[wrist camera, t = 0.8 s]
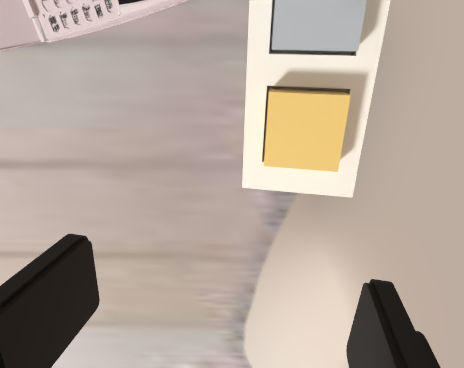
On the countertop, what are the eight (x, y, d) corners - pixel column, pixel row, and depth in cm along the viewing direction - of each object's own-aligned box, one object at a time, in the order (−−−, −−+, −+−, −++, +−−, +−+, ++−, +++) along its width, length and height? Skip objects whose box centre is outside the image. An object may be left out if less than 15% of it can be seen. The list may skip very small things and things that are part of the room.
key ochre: (270, 89, 25) (268, 92, 23) (344, 91, 25) (350, 95, 22) (265, 157, 28) (263, 166, 26) (333, 162, 27) (337, 172, 25)
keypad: (264, -251, 20) (261, -300, 17) (430, -271, 18) (454, -328, 16) (246, 176, 32) (242, 187, 29) (346, 184, 30) (352, 197, 27)
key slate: (279, -41, 22) (278, -52, 20) (366, -43, 21) (376, -55, 19) (273, 49, 24) (271, 49, 22) (351, 51, 23) (358, 50, 21)
